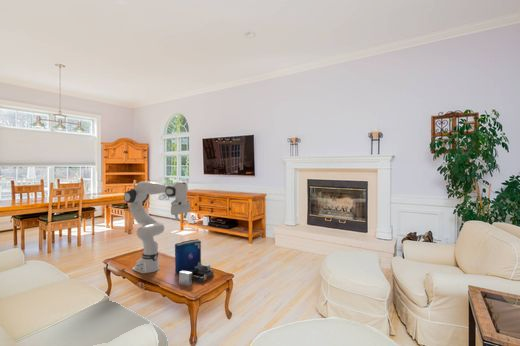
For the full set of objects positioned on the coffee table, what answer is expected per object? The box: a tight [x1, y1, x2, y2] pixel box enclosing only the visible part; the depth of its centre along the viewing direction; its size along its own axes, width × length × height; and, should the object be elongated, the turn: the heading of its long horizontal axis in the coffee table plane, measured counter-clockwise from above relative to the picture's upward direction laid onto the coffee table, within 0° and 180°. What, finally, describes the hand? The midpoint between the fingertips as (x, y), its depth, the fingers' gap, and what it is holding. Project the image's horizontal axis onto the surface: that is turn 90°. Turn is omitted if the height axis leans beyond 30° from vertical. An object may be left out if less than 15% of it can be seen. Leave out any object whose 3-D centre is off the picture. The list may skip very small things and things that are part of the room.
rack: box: [191, 262, 215, 284], centre depth 210 cm, size 13×16×9 cm
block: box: [178, 270, 193, 287], centre depth 198 cm, size 9×4×9 cm, turn 68°
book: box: [174, 239, 202, 275], centre depth 223 cm, size 22×7×25 cm, turn 126°
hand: (181, 218), depth 211 cm, fingers open, 8 cm apart
